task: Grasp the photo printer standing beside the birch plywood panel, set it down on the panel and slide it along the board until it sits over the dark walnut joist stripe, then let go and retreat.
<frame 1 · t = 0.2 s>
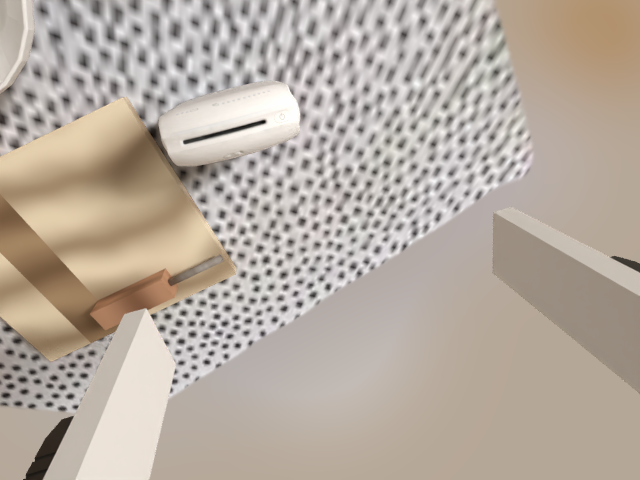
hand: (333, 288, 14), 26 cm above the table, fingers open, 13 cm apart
subfloor panel: (87, 240, 38), on the table
awl: (138, 292, 39), point 1 cm above the table, touching subfloor panel
photo printer: (234, 111, 35), on the table
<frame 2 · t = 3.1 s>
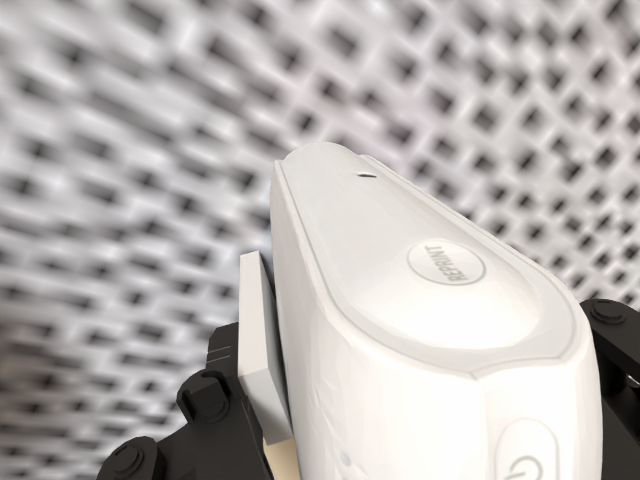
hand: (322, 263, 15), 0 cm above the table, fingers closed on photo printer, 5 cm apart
photo printer: (320, 257, 16), on the table, touching gripper
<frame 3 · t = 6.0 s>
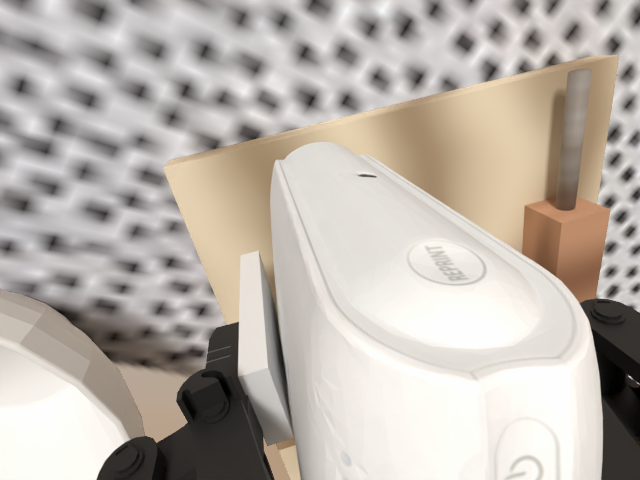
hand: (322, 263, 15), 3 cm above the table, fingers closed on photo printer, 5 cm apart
bowl: (4, 350, 18), on the table
subfloor panel: (412, 307, 22), on the table
awl: (540, 265, 20), point 1 cm above the table, touching subfloor panel
photo printer: (320, 257, 16), point 3 cm above the table, touching gripper
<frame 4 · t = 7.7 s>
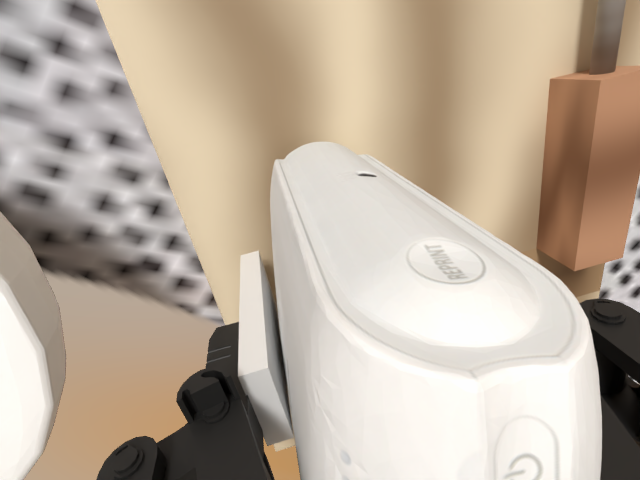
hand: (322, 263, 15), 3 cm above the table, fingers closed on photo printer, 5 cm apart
subfloor panel: (411, 221, 18), on the table
awl: (566, 166, 17), point 1 cm above the table, touching subfloor panel
photo printer: (320, 257, 16), point 2 cm above the table, touching gripper
when the fingers open (2 cm above the table, at t = 9.1 s): photo printer stays where it is, resting on subfloor panel.
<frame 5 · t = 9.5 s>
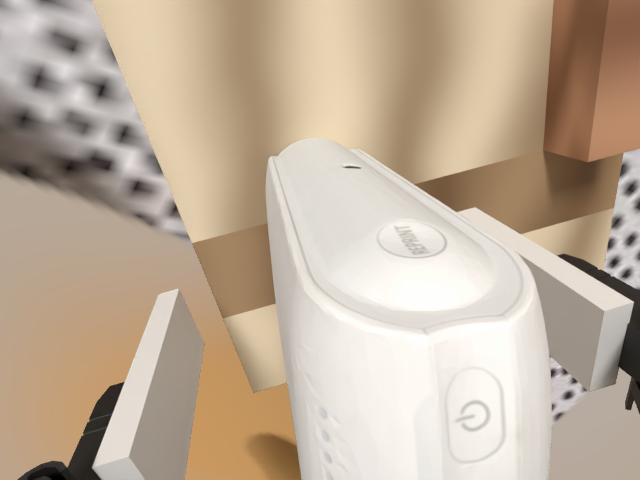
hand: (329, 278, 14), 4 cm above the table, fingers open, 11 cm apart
subfloor panel: (401, 119, 16), on the table
awl: (577, 44, 15), point 1 cm above the table, touching subfloor panel
photo printer: (317, 249, 17), point 1 cm above the table, touching subfloor panel
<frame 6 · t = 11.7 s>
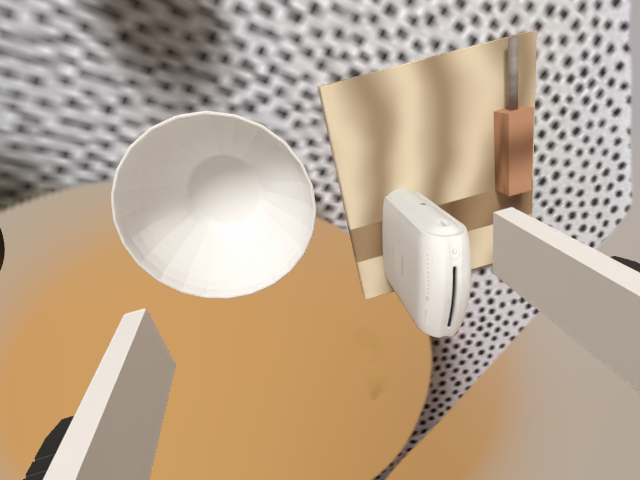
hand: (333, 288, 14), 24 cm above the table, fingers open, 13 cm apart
bowl: (225, 189, 36), on the table
subfloor panel: (434, 177, 39), on the table
awl: (505, 149, 37), point 1 cm above the table, touching subfloor panel
photo printer: (398, 232, 39), point 1 cm above the table, touching subfloor panel
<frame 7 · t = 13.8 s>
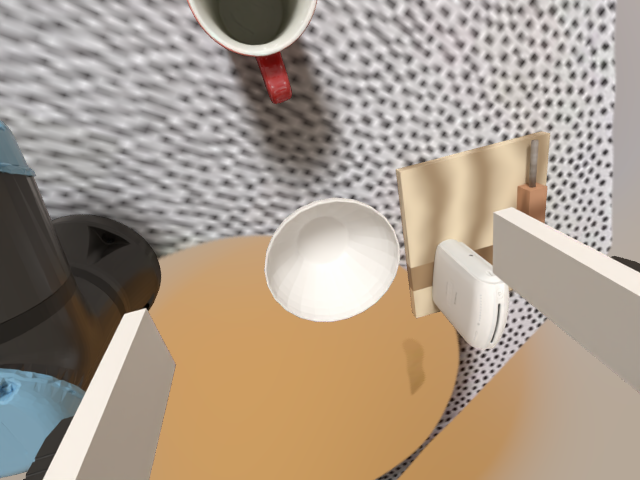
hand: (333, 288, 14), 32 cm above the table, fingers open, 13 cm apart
bowl: (322, 239, 49), on the table
subfloor panel: (471, 229, 52), on the table
mug: (255, 31, 37), on the table
awl: (524, 211, 51), point 1 cm above the table, touching subfloor panel
photo printer: (444, 269, 53), point 1 cm above the table, touching subfloor panel
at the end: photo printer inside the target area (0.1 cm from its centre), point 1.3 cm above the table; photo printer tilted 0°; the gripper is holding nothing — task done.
